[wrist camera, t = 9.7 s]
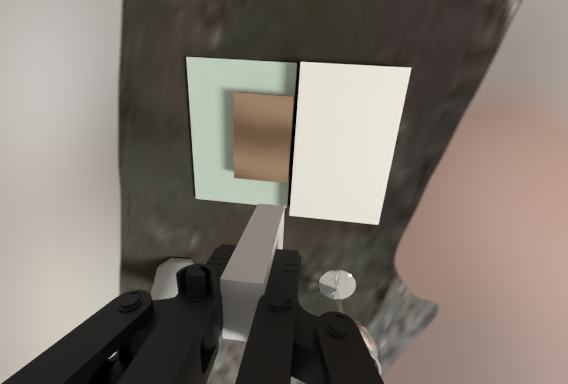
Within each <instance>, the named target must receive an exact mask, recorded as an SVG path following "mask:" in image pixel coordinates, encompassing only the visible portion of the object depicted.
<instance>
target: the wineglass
mask: <svg viewBox="0 0 568 384" xmlns="http://www.w3.org/2000/svg"><path fill="white" fill-rule="evenodd" d="M319 288H320V290H321V292H322V293H323V294H324V295H325V296H327V297H329V298H331V299H336V301H337V312H340V313H343V312H342V305H341V299H344V298H347V297H349V296H350V295H351V294H352V293H353V292H354V290H355V288H356V282H355V280H354V278H353V277H352V276H351V275H350V274H349V273H347V272H345V271H342V270H332V271H328V272H326V273H325V274H323V275H322V277H321V278H320V280H319ZM353 320H354V319H353ZM354 322H355V323H356V325H357V326H358V328H359V330H360V332H361V335H362V337H363V339H364V341H365V343H366V346H367V348H368V350H369V352H370V354H371V356H372V359H373V361H374V363H375V365H376V367H377V369H378V372H379V374H380V376H381V366H380V364H379V362H378V359H377V346H376V343H375V341H374V339H373V336H372V334H371V333H370V331H369V330H368V329H367V328H366V327H365V326H364V325H363V324H362V323H360V322H358V321H356V320H354Z"/></svg>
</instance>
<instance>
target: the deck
mask: <svg viewBox="0 0 568 384" xmlns="http://www.w3.org/2000/svg"><path fill="white" fill-rule="evenodd" d="M410 72H411V68H405V67H387V66H369V65H351V64H332V63H314V62H301V63H300V77H299V91H298V104H297V118H296V132H295V146H294V160H293V173H292V187H291V201H290V215H289V216H299V217H308V218H318V219H328V220H337V221H347V222H357V223H366V224H376V225H378V224H379V219H380V215H381V210H382V205H383V200H384V196H385V191H386V186H387V181H388V177H389V172H390V167H391V162H392V158H393V153H394V148H395V143H396V139H397V134H398V129H399V124H400V120H401V115H402V110H403V105H404V100H405V96H406V91H407V86H408V81H409V77H410Z"/></svg>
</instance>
